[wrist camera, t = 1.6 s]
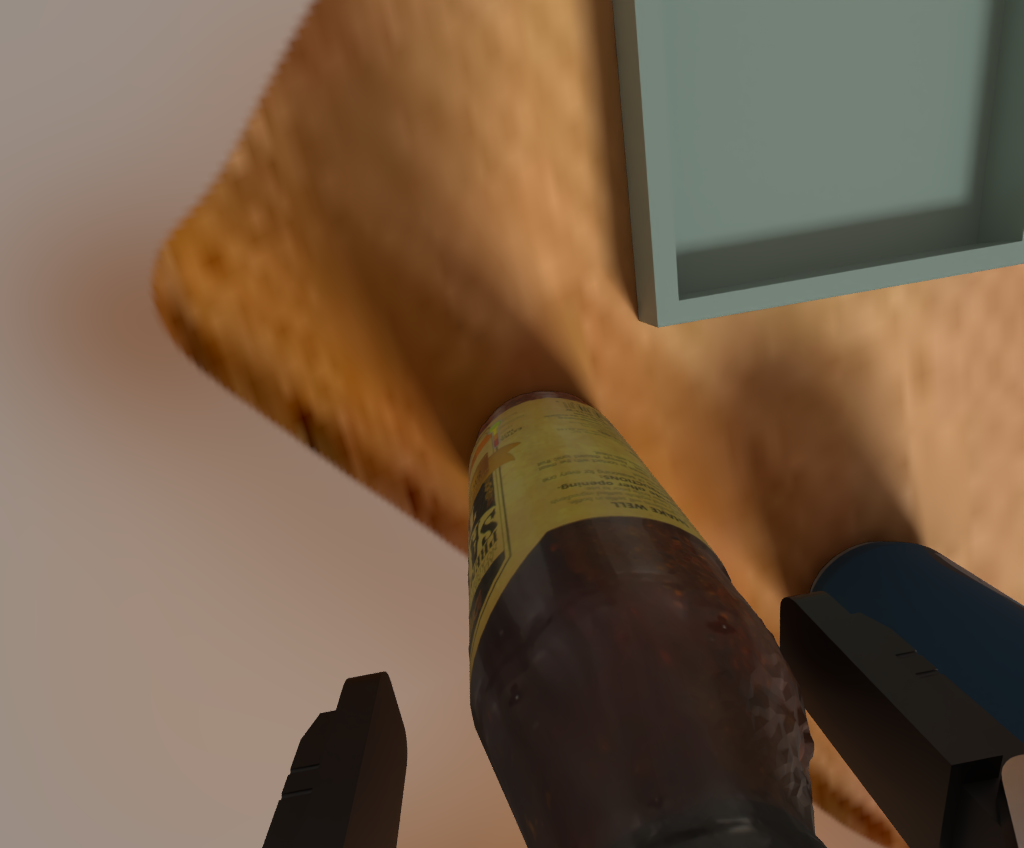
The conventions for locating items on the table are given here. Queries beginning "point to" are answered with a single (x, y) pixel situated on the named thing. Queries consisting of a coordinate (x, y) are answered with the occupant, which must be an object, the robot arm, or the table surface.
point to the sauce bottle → (619, 652)
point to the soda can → (939, 618)
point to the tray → (817, 147)
